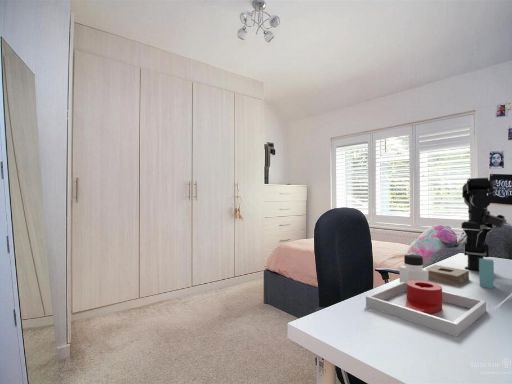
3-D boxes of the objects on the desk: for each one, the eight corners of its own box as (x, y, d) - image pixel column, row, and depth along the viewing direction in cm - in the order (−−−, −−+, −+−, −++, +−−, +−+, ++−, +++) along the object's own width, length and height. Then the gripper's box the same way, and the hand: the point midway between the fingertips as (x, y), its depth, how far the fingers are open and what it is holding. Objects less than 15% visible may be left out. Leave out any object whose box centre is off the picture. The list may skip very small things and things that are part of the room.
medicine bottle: (429, 290, 102) (428, 257, 102) (408, 290, 102) (408, 256, 102) (418, 284, 109) (417, 252, 109) (399, 284, 110) (399, 252, 110)
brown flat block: (435, 274, 123) (435, 264, 123) (468, 280, 113) (468, 270, 113) (423, 279, 115) (423, 269, 115) (458, 287, 106) (457, 276, 106)
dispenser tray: (403, 289, 103) (403, 281, 103) (486, 311, 84) (486, 301, 84) (365, 306, 88) (365, 296, 88) (456, 336, 69) (456, 324, 69)
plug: (479, 284, 108) (479, 258, 108) (493, 286, 106) (492, 259, 106) (479, 287, 105) (479, 260, 105) (493, 289, 103) (493, 261, 103)
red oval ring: (412, 298, 95) (412, 278, 95) (445, 306, 88) (445, 284, 88) (392, 315, 82) (392, 292, 82) (429, 325, 76) (429, 300, 76)
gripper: (496, 208, 106) (496, 251, 105) (510, 208, 117) (510, 247, 116) (460, 207, 115) (460, 246, 114) (477, 207, 126) (477, 243, 125)
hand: (478, 246), depth 117 cm, fingers open, 9 cm apart
